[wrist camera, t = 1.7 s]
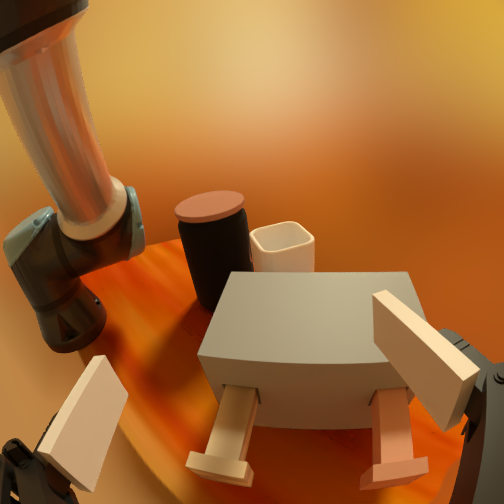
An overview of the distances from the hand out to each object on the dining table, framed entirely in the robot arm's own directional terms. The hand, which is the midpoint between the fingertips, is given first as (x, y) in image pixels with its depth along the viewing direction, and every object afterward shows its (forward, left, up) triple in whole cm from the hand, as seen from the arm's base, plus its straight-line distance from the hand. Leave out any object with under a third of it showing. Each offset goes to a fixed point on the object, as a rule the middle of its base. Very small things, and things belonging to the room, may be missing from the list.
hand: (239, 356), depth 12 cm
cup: (-1, +24, -22) cm, 33 cm away
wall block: (+4, +11, -22) cm, 25 cm away
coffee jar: (-12, +29, -22) cm, 39 cm away
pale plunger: (-3, +3, -16) cm, 17 cm away
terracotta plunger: (+11, +3, -16) cm, 20 cm away
